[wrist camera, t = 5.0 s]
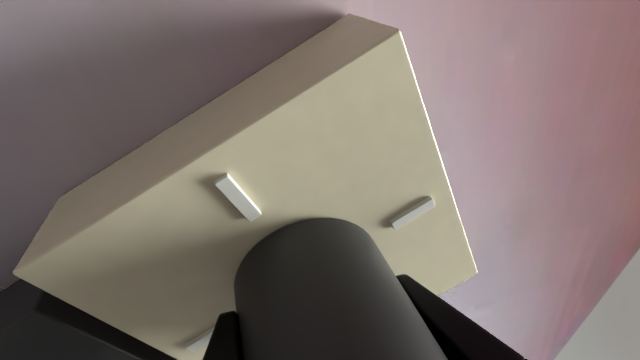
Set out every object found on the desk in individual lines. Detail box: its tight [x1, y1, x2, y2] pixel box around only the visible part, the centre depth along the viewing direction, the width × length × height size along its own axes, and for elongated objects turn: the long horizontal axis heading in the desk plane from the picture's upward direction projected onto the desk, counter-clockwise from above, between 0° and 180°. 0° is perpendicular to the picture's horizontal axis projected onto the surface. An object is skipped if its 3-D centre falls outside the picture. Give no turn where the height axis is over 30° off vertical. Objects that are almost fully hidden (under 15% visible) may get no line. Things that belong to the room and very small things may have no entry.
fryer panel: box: [13, 14, 478, 360], centre depth 11 cm, size 10×10×3 cm
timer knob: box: [234, 218, 448, 360], centre depth 8 cm, size 4×4×5 cm
